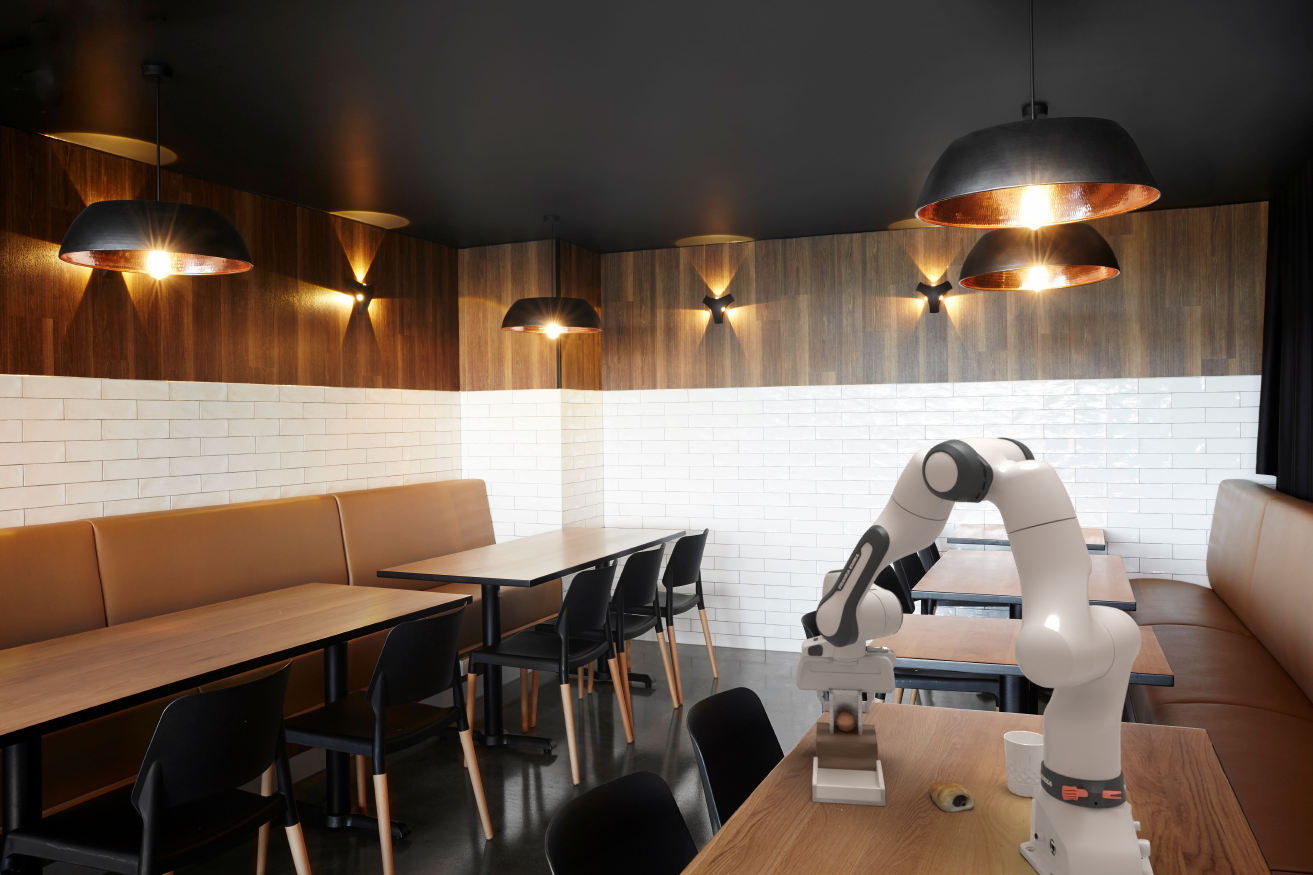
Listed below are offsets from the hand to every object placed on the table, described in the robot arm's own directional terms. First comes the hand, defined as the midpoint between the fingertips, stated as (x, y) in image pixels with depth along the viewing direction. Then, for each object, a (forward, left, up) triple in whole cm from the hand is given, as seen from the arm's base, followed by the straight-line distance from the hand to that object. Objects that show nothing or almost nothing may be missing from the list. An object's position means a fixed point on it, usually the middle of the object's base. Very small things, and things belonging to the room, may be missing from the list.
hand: (845, 711), depth 185 cm
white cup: (-12, -33, -10) cm, 36 cm away
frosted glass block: (0, 0, -4) cm, 4 cm away
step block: (-2, 0, -10) cm, 10 cm away
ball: (-1, 0, -4) cm, 4 cm away
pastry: (-20, -18, -10) cm, 29 cm away
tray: (-16, 0, -10) cm, 18 cm away
